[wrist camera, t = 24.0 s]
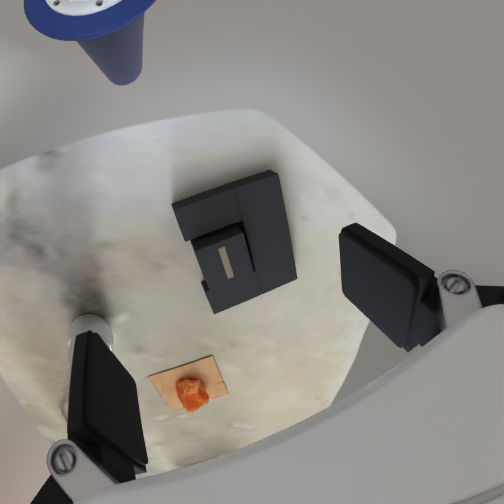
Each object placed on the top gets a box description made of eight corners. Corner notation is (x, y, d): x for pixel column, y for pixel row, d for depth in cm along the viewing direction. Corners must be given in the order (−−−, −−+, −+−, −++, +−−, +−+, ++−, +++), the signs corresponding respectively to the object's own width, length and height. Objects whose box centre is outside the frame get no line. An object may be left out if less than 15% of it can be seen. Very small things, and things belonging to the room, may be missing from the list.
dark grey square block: (189, 237, 37) (195, 251, 33) (233, 220, 38) (243, 232, 34) (203, 275, 40) (210, 291, 36) (244, 259, 41) (254, 273, 37)
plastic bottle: (64, 310, 34) (44, 434, 17) (108, 305, 36) (108, 433, 20) (77, 344, 37) (71, 462, 20) (118, 340, 39) (128, 460, 22)
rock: (212, 354, 47) (219, 373, 43) (228, 392, 53) (235, 408, 49) (146, 376, 44) (150, 395, 41) (172, 411, 50) (176, 428, 47)
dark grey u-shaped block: (171, 204, 34) (173, 210, 32) (269, 169, 36) (278, 173, 34) (209, 304, 42) (214, 314, 40) (289, 270, 45) (297, 278, 43)
